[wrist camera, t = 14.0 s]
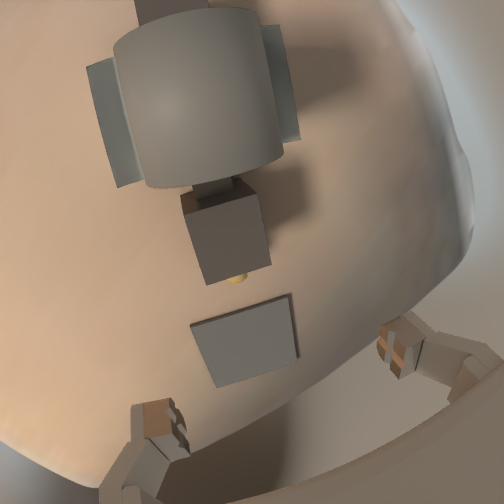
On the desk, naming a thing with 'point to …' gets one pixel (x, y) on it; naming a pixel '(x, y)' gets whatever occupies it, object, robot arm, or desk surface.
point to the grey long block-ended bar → (217, 199)
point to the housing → (194, 98)
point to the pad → (247, 341)
